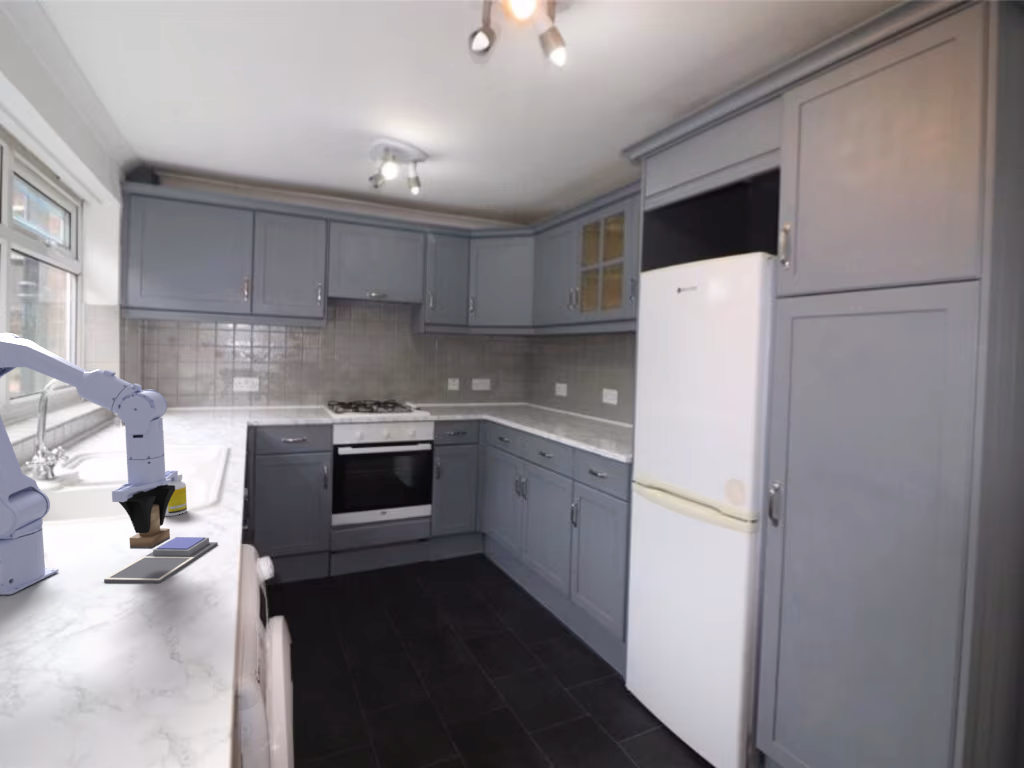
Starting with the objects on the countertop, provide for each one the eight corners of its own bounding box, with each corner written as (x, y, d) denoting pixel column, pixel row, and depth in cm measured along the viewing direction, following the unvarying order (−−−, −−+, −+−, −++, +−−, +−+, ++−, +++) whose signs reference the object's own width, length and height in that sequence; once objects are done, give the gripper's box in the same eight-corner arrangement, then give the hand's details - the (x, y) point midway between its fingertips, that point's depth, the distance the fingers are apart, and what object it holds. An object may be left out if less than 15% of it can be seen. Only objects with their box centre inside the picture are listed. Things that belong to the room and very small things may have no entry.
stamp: (151, 548, 97) (149, 511, 96) (130, 548, 97) (128, 510, 96) (169, 538, 102) (168, 502, 101) (149, 538, 102) (147, 502, 101)
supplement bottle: (192, 510, 135) (190, 472, 134) (176, 517, 130) (174, 477, 129) (172, 509, 136) (170, 471, 135) (155, 516, 130) (154, 476, 130)
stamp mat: (159, 583, 94) (159, 572, 94) (104, 582, 95) (103, 571, 95) (217, 544, 112) (217, 535, 112) (170, 544, 113) (170, 535, 112)
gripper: (139, 465, 91) (143, 543, 92) (191, 448, 105) (194, 516, 106) (98, 465, 91) (102, 543, 92) (156, 448, 105) (159, 515, 106)
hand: (149, 528), depth 99 cm, fingers closed on stamp, 3 cm apart
